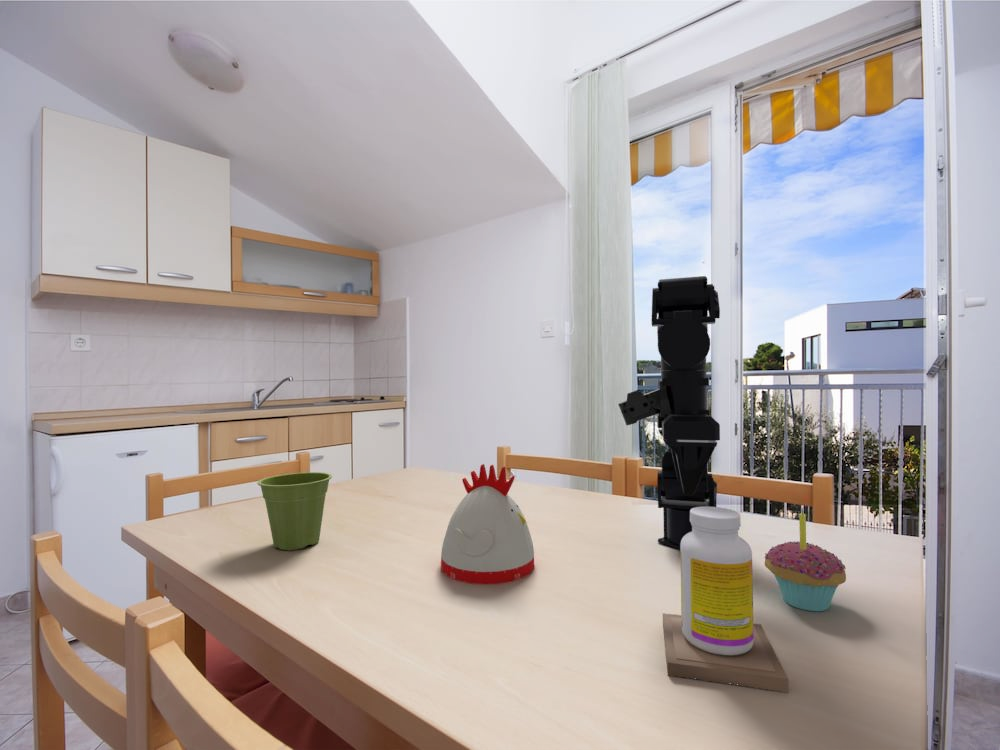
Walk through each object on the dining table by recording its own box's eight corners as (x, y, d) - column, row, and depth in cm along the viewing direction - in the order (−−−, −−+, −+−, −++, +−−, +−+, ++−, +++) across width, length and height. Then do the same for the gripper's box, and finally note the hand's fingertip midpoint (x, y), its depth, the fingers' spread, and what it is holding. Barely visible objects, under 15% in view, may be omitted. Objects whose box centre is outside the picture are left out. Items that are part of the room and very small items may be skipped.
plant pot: (323, 529, 93) (322, 469, 93) (340, 546, 83) (340, 479, 83) (253, 541, 86) (252, 476, 86) (263, 561, 76) (262, 488, 77)
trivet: (662, 624, 56) (662, 612, 56) (761, 635, 53) (760, 623, 53) (667, 675, 46) (667, 661, 46) (788, 692, 43) (788, 678, 43)
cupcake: (849, 626, 55) (847, 517, 55) (762, 608, 59) (760, 507, 59) (844, 597, 62) (842, 501, 62) (767, 582, 66) (766, 493, 67)
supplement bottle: (769, 656, 47) (766, 520, 47) (701, 661, 46) (699, 522, 46) (729, 622, 53) (727, 502, 53) (670, 625, 53) (668, 504, 53)
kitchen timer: (517, 590, 65) (516, 476, 65) (424, 576, 70) (423, 470, 70) (544, 554, 78) (543, 459, 78) (464, 545, 83) (464, 455, 83)
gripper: (623, 373, 78) (624, 472, 77) (619, 370, 60) (621, 500, 59) (699, 372, 75) (700, 475, 74) (719, 368, 57) (721, 505, 56)
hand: (685, 487), depth 66 cm, fingers open, 9 cm apart
